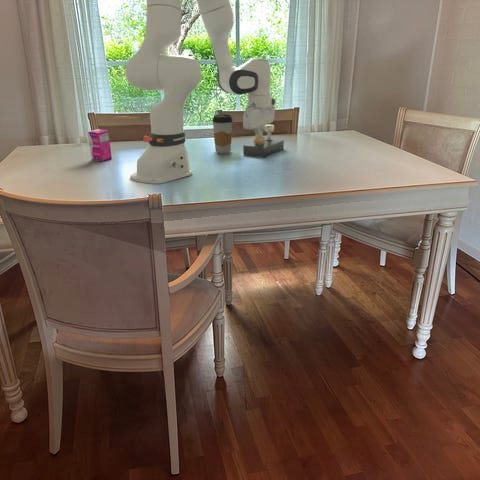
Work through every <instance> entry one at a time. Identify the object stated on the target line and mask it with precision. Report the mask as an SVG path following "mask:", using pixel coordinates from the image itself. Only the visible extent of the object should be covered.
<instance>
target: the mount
mask: <svg viewBox="0 0 480 480" xmlns="http://www.w3.org/2000/svg"><path fill="white" fill-rule="evenodd" d="M284 144H285V141H284V139H279V138H278V139H277V138H271V142H269V141H267V137H265V142H264V144H261V146H258V145H257V144H254V140H253V141H250V142H248V143H246V144H243V147H242V149H243V150H242V151H243V155H244V156H248V157H249V156H250V157H256V158H262V159H265V158H267V157H270V156H272V155H275V154H276V153H279V152H281V151H283V150H284V147H285V146H284Z"/></svg>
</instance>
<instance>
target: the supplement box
mask: <svg viewBox="0 0 480 480" xmlns="http://www.w3.org/2000/svg"><path fill="white" fill-rule="evenodd" d="M87 137H88V144H89V152H90V156H91V161H93V162H94V161H95V162H101V163H103V161H104V162H107V161H109V160H112V159H113V156H112V150H111V143H110V135H109V130H108V129H107V130H106V129H98V128H97V129H94V130H90V131H87Z"/></svg>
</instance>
